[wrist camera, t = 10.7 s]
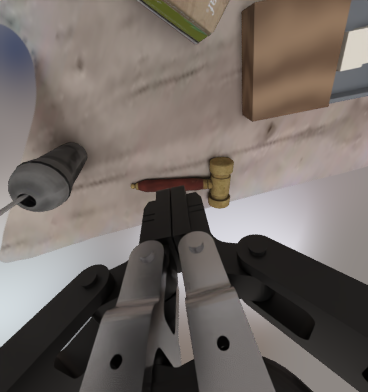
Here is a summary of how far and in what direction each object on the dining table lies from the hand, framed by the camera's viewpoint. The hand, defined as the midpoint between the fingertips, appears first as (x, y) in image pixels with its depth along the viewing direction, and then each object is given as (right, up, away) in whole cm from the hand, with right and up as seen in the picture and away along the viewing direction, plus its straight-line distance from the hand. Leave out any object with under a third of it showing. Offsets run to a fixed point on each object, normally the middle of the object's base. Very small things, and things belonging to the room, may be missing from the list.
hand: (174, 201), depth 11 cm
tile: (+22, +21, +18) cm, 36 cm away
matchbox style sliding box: (+16, +22, +21) cm, 34 cm away
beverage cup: (-20, +8, +27) cm, 35 cm away
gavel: (0, +4, +32) cm, 32 cm away
